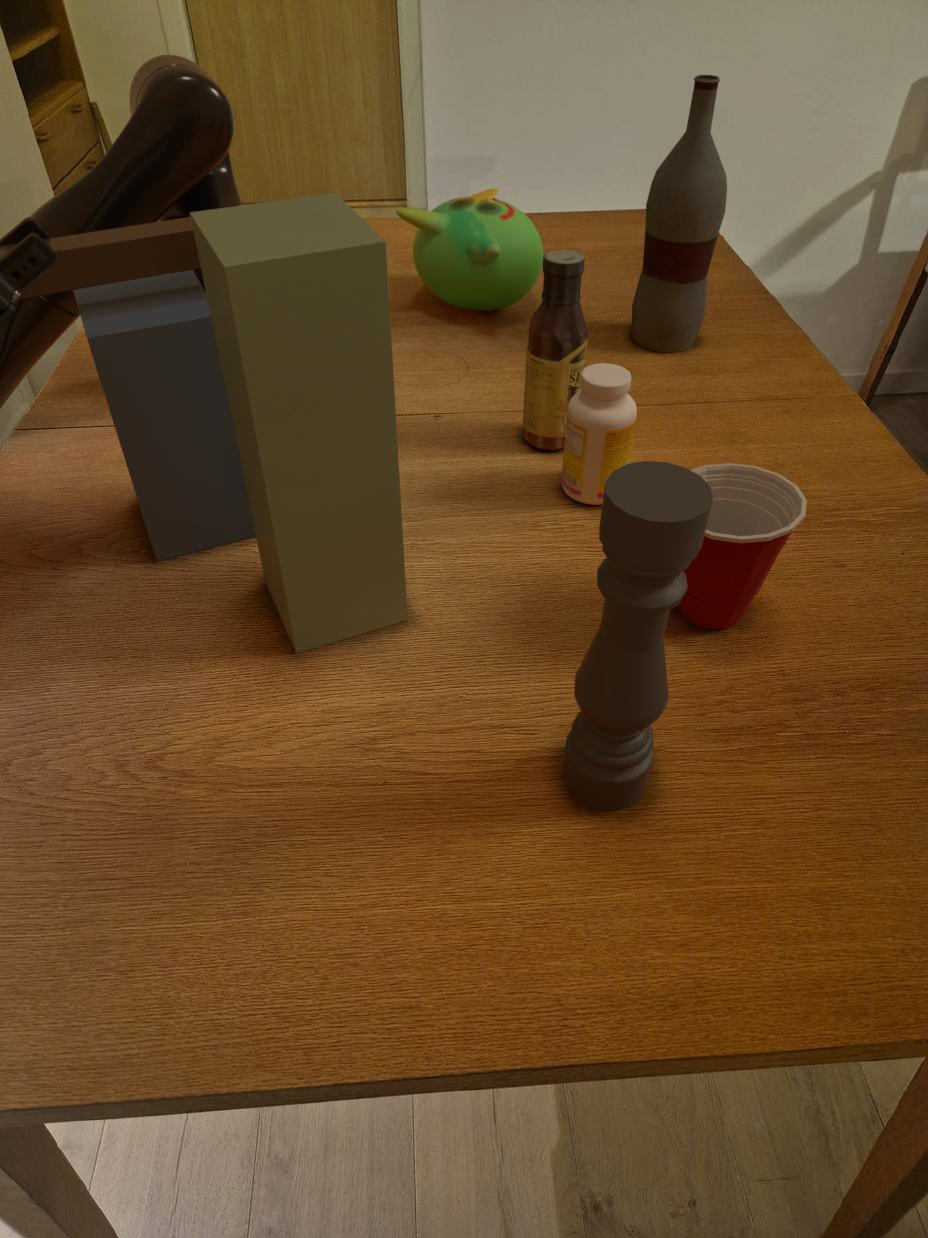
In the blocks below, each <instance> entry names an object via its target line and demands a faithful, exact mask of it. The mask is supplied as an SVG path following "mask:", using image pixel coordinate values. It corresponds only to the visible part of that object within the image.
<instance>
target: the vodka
mask: <svg viewBox="0 0 928 1238" xmlns="http://www.w3.org/2000/svg"><path fill="white" fill-rule="evenodd" d="M693 81H694V85H693V90H692V94H691V101H690V106H689V111H688V118H687V123H686V129H685V132H684V133H683V134H682V136H681V137H680V139H679V140H678V141H677V142H676V144H675V145H674V146H673V148H671V150H670V152H669V153H668V154H667V155H666V157H665V158H664V159H663V161H662V163H661V164H659V166H658V167H657V168H656V171H655V172H654V176H653V178H652V180H651V184H650V188H649V192H648V195H647V199H646V203H645V229H644V243H643V254H642V255H643V256H642V268H641V272H640V275H639V278H638V282H637V286H636V289H635V293H634V295H633V296H634V297H633V300H632V305H631V332H632V333H631V334H632V339H633V341H634V342H635V344H636V345H638V346H639V347H641V348H643V349H646V350H648V351H653V352H657V353H669V354H670V353H679V352H683V351H686V350H688V349H690V348H691V347H693V345H694V343H695V341H696V339H697V337H698V335H699V334H700V332H701V328H702V325H703V321H704V319H705V315H706V304H707V294H708V293H707V292H708V291H707V290H708V274H709V270H710V266H711V263H712V259H713V255H714V251H715V248H716V244H717V240H718V237H719V234H720V229H721V227H722V223H723V221H724V217H725V215H726V207H727V197H728V182H727V179H728V178H727V174H726V171H725V168H724V165H723V163H722V160H721V157H720V155H719V154H720V153H719V151H718V149H717V146H716V144H715V141H714V139H713V136H712V133H711V132H712V124H713V119H714V112H715V107H716V100H717V93H718V87H719V83H720V82H721V79H720V77H719V76H717V75H713V74H697V75H696V76H695V77H694V78H693Z"/></svg>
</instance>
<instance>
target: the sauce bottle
mask: <svg viewBox="0 0 928 1238" xmlns="http://www.w3.org/2000/svg"><path fill="white" fill-rule="evenodd" d="M585 258H586V257H585V255H584V254H583V253H581V252H579V251H576V250H573V249H563V248H561V249H553V250H550V251H547V252H546V253H543V263H542V272H543V283H542V284H543V285H542V292H541V300H542V301H541V302H540V304H539V306H538V307H537V308H536V310H535V311H534V312H533V315H532V316H531V318H530V320H529V326H528V343H527V346H526V358H525V373H524V376H525V377H524V393H523V412H522V414H523V415H522V424H523V428H522V433H523V438H524V439H525V441H526V442H527V443H528V444H529V445H530V446H532V447H534V448H536V449H541V450H547V451H558V450H562V449H564V444H565V433H566V422H567V411H568V404H569V402H570V400H571V398H572V397H573V396H574V395H575V394H576V393H577V392H579V391H580V390H581V387H580V380H581V373H582V371H583V369H584V368H586V366H587V365H586V363H587V356H588V355H587V353H588V345H589V332H588V329H587V325H586V322H585V317H584V313H583V308H582V305H581V296H582V295H581V287H582V277H583V274H584V271H585Z"/></svg>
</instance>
